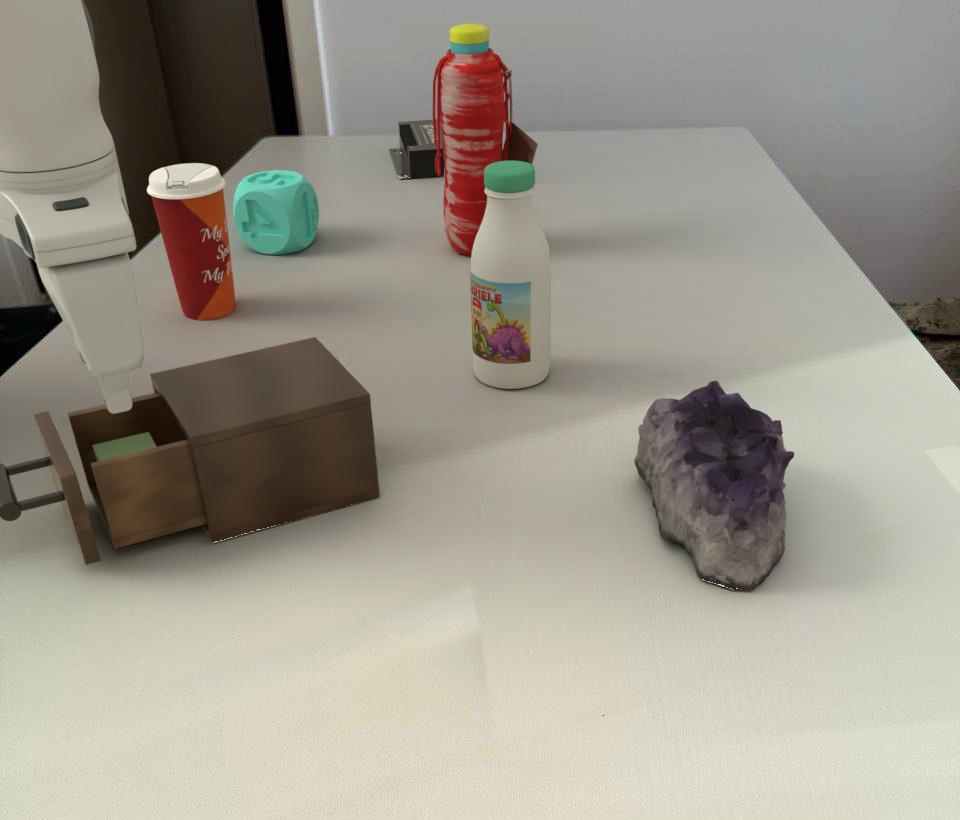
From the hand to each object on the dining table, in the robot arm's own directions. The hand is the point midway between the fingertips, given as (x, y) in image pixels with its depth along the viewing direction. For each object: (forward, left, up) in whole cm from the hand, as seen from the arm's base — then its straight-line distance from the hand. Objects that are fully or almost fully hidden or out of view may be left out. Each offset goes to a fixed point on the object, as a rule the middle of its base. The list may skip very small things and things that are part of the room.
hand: (105, 383), depth 86 cm
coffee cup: (+18, +41, -13) cm, 46 cm away
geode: (+42, -23, -13) cm, 49 cm away
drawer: (-1, 0, -12) cm, 12 cm away
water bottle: (+54, +42, -13) cm, 69 cm away
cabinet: (+12, 0, -12) cm, 17 cm away
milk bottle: (+40, +9, -13) cm, 43 cm away
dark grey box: (+64, +77, -13) cm, 101 cm away
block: (0, 0, -10) cm, 10 cm away
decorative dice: (+32, +57, -13) cm, 66 cm away
